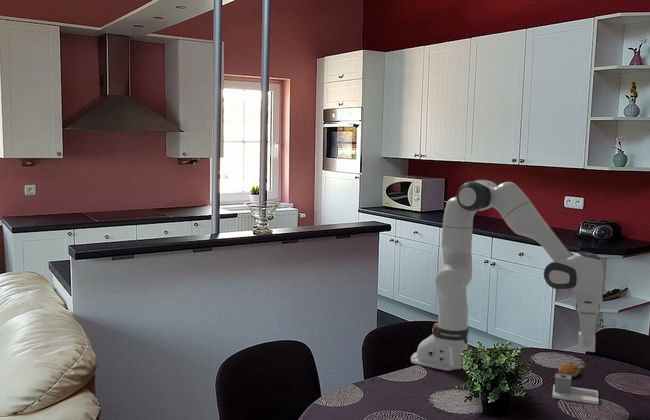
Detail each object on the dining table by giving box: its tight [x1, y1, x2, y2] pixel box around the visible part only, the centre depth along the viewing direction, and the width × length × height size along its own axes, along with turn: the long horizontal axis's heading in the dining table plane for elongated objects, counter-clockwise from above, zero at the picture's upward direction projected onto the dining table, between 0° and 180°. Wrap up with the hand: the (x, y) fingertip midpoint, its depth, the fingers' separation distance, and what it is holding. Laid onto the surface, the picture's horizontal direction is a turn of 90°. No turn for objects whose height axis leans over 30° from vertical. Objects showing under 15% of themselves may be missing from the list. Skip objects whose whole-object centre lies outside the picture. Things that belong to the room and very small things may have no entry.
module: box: [577, 331, 596, 353], centre depth 203 cm, size 5×4×6 cm
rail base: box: [551, 372, 600, 406], centre depth 206 cm, size 14×10×7 cm
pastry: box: [557, 361, 581, 378], centre depth 226 cm, size 9×7×4 cm
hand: (586, 343), depth 204 cm, fingers closed on module, 4 cm apart
